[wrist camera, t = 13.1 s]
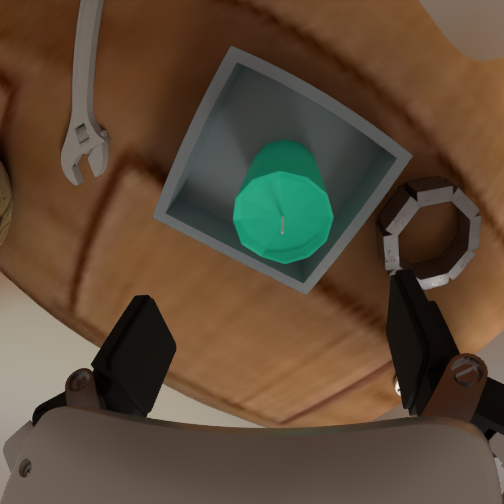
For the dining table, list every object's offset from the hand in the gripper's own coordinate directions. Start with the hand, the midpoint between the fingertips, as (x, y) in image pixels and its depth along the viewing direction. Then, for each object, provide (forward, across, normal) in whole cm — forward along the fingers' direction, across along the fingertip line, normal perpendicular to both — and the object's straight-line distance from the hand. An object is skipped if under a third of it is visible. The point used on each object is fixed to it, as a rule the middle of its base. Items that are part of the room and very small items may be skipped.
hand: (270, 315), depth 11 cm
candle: (+18, 0, -1) cm, 18 cm away
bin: (+19, +1, -1) cm, 19 cm away
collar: (+19, -14, +8) cm, 25 cm away
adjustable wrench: (+19, +17, -16) cm, 30 cm away
